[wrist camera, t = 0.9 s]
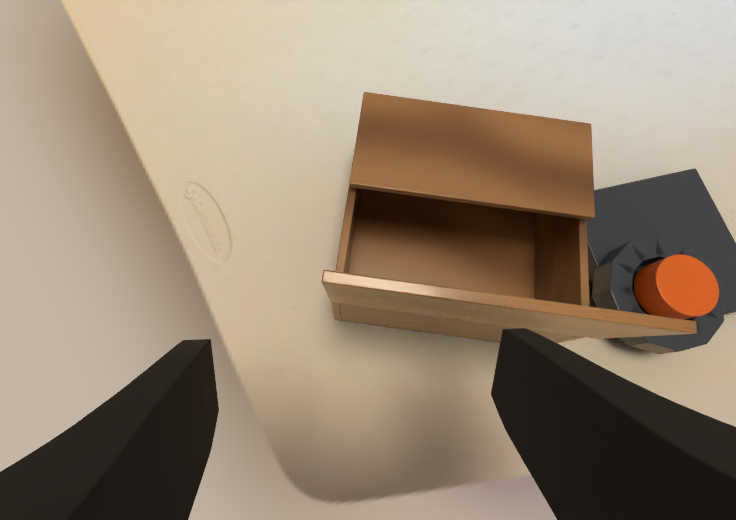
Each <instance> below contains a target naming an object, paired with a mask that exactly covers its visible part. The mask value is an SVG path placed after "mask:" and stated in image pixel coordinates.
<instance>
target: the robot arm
mask: <svg viewBox="0 0 736 520" xmlns="http://www.w3.org/2000/svg"><path fill="white" fill-rule="evenodd" d="M491 395H492V398H493V400H494V403H495V405H496V408H497V411H498V413H499V415H500V418H501V420H502V422H503V425H504V427H505V429H506V431H507V433H508V435H509V437H510V439H511V440H512V442H513V444H514V446H515V447H516V449H517V451H518V453H519V454H520V456H521V458H522V460H523V461H524V463H525V465H526V466H527V468H528V470H529V472H530V473H531V475H532V477H533V478H534V480H535V482H536V484H537V485H538V487H539V489H540V490H541V492H542V494H543V495H544V497H545V499H546V500H547V502H548V504H549V506H550V508H551V509H552V511H553V513H554V514H555V516H556V518H557V520H736V427H734V426H732V425H729V424H726V423H724V422H721V421H718V420H716V419H713V418H711V417H709V416H706V415H704V414H701V413H699V412H696V411H694V410H692V409H689V408H687V407H684V406H682V405H680V404H677V403H675V402H673V401H670V400H668V399H666V398H664V397H661V396H659V395H657V394H655V393H653V392H651V391H649V390H647V389H644V388H642V387H640V386H638V385H636V384H634V383H632V382H630V381H628V380H626V379H624V378H622V377H620V376H618V375H616V374H614V373H612V372H610V371H608V370H606V369H604V368H602V367H600V366H599V365H597V364H595V363H593V362H591V361H589V360H587V359H585V358H584V357H582V356H580V355H578V354H576V353H574V352H572V351H570V350H569V349H567V348H565V347H563V346H561V345H559V344H557V343H555V342H554V341H552V340H550V339H548V338H546V337H544V336H542V335H540V334H538V333H535V332H533V331H531V330H528V329H526V328H516V329H503V330H502V336H501V342H500V347H499V353H498V358H497V364H496V369H495V375H494V381H493V386H492V392H491ZM218 411H219V407H218V399H217V391H216V382H215V373H214V365H213V356H212V347H211V340H210V339H205V340H183V341H182V342H181V343H179V344H178V345H176V346H175V347H174V348H173V349H171V350H170V351H169V352H168V353H166V354H165V355H164V356H163V357H161V358H160V359H159V360H158V361H157V362H155V363H154V364H153V365H152V366H151V367H149V368H148V369H147V370H146V371H144V372H143V373H142V374H141V375H139V376H138V377H137V378H136V379H134V380H133V381H132V382H131V383H130V384H128V385H127V386H126V387H124V388H123V389H122V390H121V391H119V392H118V393H117V394H115V395H114V396H113V397H111V398H110V399H109V400H108V401H106V402H105V403H103V404H102V405H100V406H99V407H98V408H96V409H95V410H94V411H92V412H91V413H90V414H88V415H87V416H85V417H84V418H83V419H82V420H80V421H79V422H77V423H76V424H75V425H73V426H72V427H70V428H69V429H67V430H66V431H64V432H63V433H61V434H60V435H58V436H57V437H55V438H54V439H52V440H51V441H49V442H48V443H46V444H45V445H43V446H42V447H40V448H38V449H37V450H35V451H34V452H32V453H31V454H29V455H27V456H26V457H24V458H23V459H21V460H19V461H18V462H16V463H14V464H13V465H11V466H9V467H8V468H6V469H4V470H3V471H1V472H0V520H188V518H189V515H190V512H191V509H192V506H193V503H194V500H195V497H196V494H197V491H198V488H199V485H200V482H201V479H202V476H203V473H204V470H205V467H206V464H207V460H208V457H209V454H210V451H211V447H212V442H213V437H214V432H215V427H216V422H217V416H218Z"/></svg>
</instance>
